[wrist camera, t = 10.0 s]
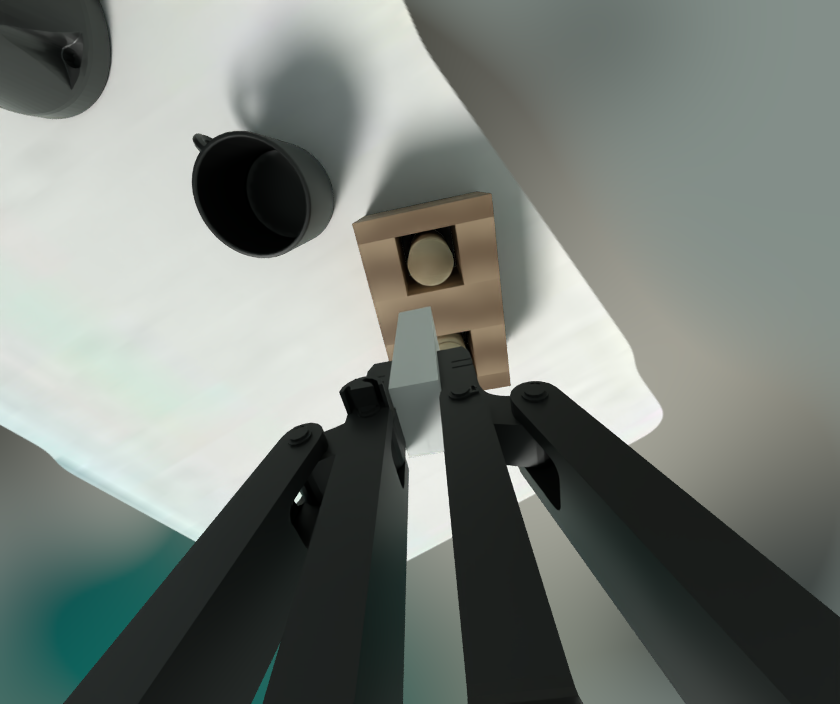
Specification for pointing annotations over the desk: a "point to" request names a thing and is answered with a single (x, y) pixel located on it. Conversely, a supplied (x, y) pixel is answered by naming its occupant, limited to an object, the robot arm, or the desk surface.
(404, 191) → the desk surface
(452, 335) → the peg
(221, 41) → the desk surface
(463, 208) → the walnut block
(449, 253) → the peg
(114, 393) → the desk surface
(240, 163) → the mug
